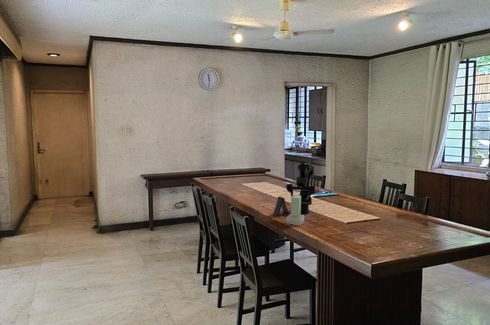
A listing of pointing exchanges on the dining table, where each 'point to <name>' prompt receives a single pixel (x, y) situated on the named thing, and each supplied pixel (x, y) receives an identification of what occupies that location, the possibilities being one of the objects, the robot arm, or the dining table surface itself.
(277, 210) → the phone stand
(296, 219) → the top slab
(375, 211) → the dining table surface
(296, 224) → the base slab
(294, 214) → the pillar
